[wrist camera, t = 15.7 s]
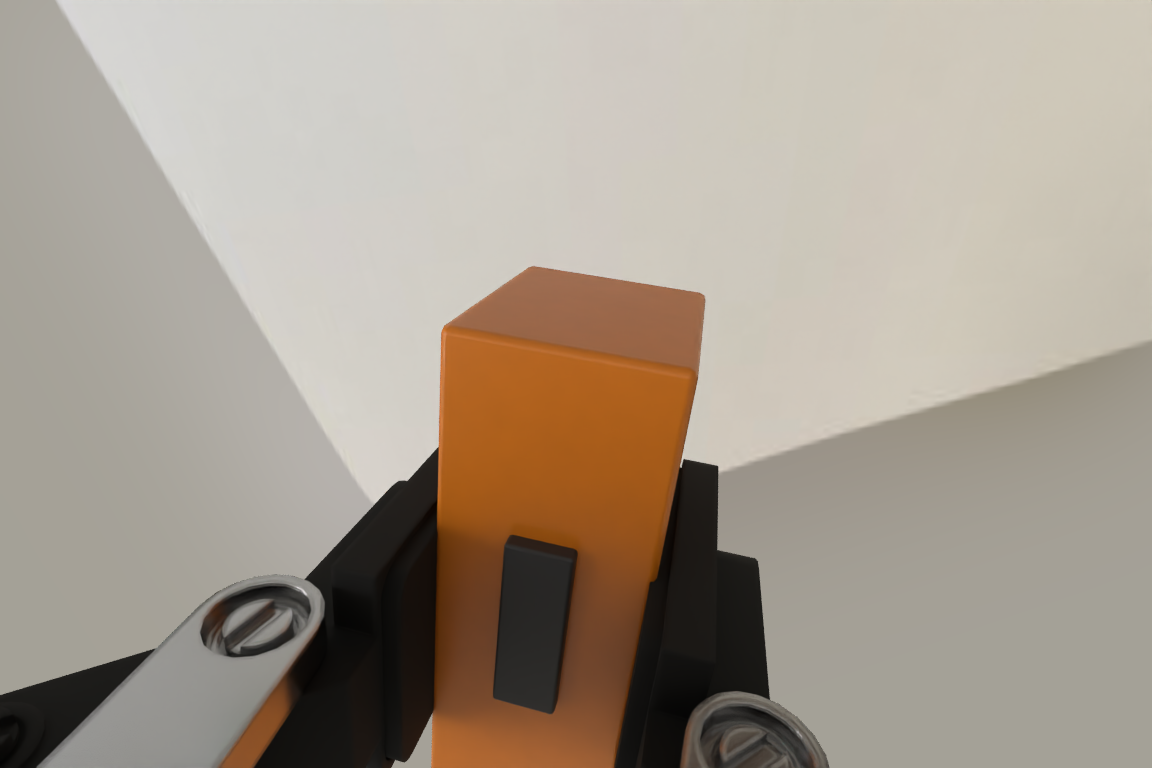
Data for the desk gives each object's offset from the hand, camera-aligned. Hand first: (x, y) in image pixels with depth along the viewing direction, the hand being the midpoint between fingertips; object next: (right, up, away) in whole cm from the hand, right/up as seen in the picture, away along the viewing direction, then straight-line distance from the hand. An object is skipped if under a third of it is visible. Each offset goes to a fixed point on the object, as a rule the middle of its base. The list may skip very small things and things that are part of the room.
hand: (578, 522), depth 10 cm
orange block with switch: (0, 0, 0) cm, 0 cm away
